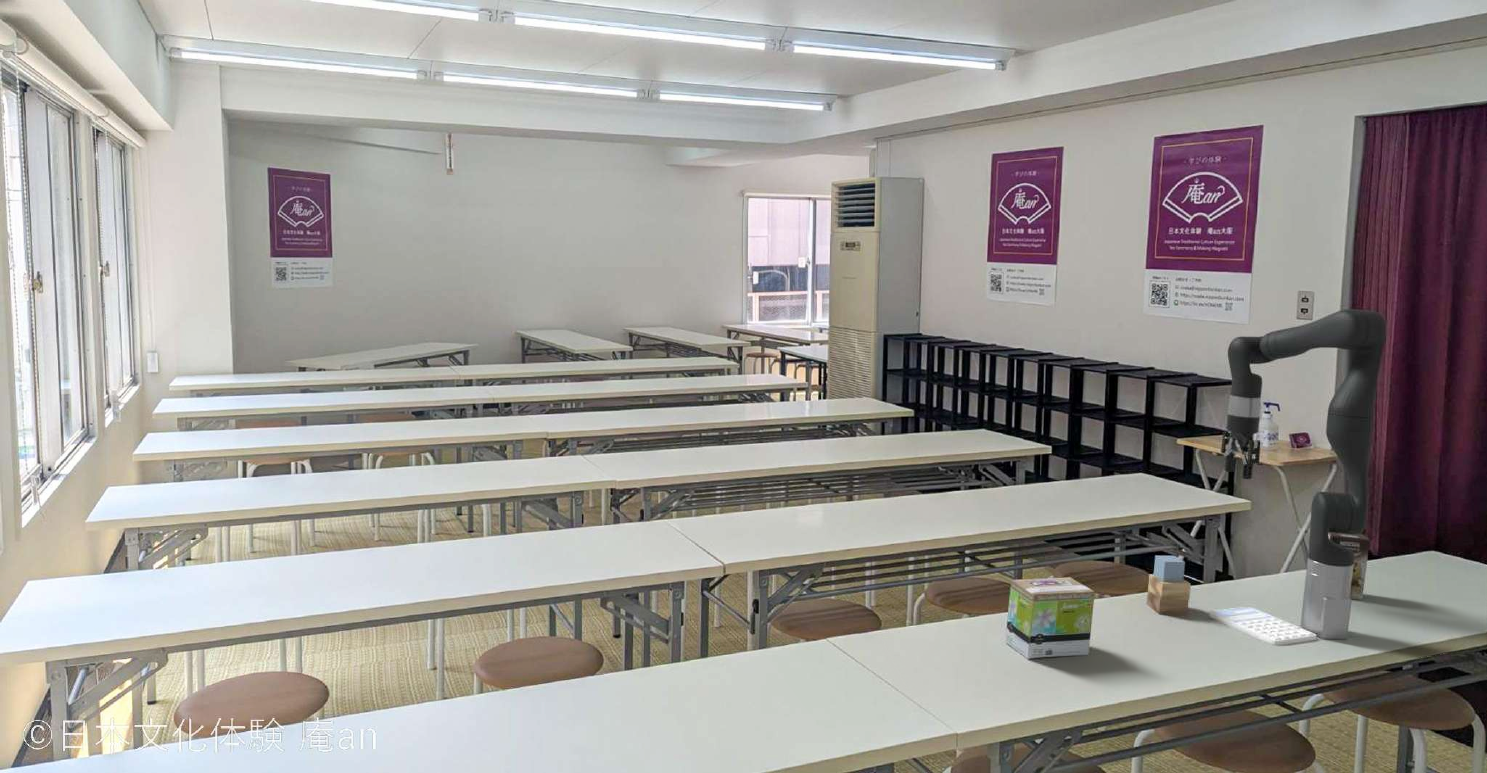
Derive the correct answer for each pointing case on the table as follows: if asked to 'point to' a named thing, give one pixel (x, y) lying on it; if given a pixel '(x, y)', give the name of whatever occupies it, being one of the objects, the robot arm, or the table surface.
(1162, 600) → the base block
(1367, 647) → the table surface
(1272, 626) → the calculator
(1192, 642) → the table surface
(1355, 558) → the coffee box
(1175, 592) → the top block
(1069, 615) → the tea box
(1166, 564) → the blue cube
